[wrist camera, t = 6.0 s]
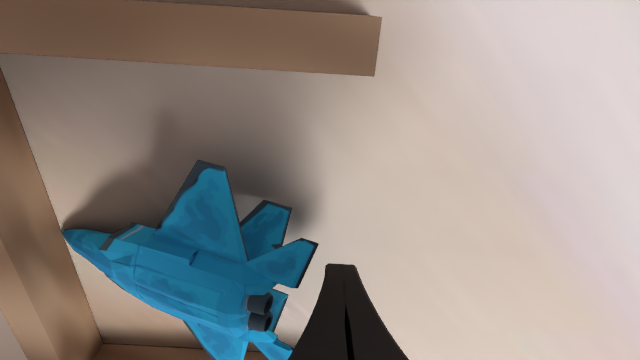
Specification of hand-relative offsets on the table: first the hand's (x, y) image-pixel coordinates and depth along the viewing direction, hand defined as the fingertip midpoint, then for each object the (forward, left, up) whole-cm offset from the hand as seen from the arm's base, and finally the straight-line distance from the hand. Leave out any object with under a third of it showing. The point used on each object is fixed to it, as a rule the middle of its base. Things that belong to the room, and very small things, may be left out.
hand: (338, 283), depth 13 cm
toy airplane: (0, +6, -3) cm, 6 cm away
